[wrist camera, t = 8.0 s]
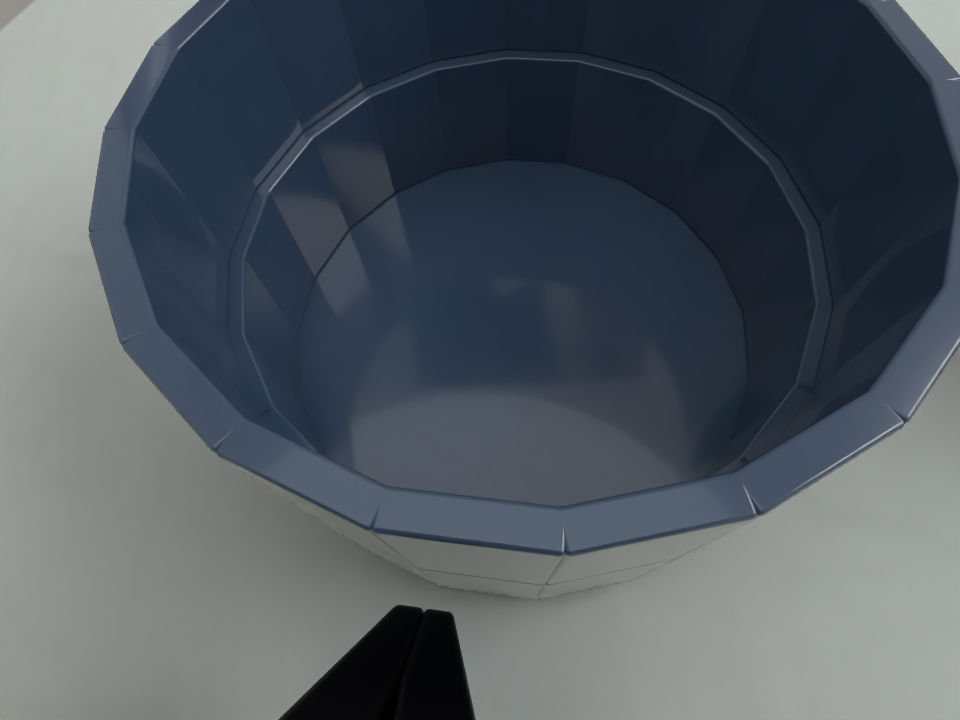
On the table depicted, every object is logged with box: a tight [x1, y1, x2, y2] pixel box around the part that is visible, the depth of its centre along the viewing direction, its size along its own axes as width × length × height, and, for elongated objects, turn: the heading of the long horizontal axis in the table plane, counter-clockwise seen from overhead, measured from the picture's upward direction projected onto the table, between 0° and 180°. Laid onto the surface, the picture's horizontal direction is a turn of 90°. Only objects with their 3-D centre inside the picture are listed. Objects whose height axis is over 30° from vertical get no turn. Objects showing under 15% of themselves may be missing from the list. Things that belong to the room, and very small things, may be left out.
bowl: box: [89, 0, 960, 599], centre depth 14 cm, size 15×15×8 cm
